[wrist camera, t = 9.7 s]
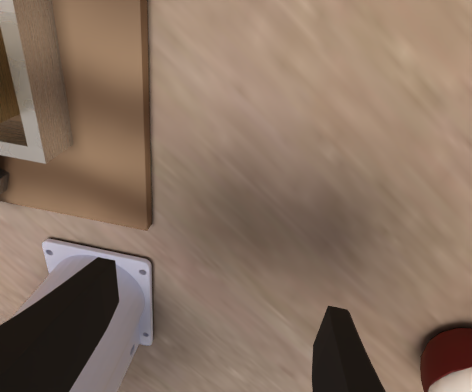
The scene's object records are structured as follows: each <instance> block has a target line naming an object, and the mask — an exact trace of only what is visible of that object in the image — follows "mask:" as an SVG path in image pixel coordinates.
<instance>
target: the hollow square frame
mask: <svg viewBox="0 0 472 392" xmlns="http://www.w3.org/2000/svg"><path fill="white" fill-rule="evenodd" d="M0 27H1V31H2V36H3V40H4V45H5V49H6V53H7V58H8V62H9V67H10V71H11V75H12V80H13V84H14V88H15V93H16V97H17V102H18V106H19V110H20V115H21V119H22V122H20V121H14V120H9V119H8V120H6V121H4V122H2V123H0V155H2V156H8V157H13V158H18V159H23V160H29V161H34V162H39V163H44V164H46V163H48V162H49V161H50V160H52V159H53V158H55V157H56V156H57V155H59V154H60V153H62V152H63V151H65V150H66V149H67V148H69V147H70V146H72V145H73V138H72V131H71V124H70V118H69V111H68V104H67V98H66V91H65V84H64V78H63V71H62V64H61V58H60V51H59V44H58V38H57V31H56V24H55V18H54V11H53V4H52V0H0Z"/></svg>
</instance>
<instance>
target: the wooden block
mask: <svg viewBox="0 0 472 392" xmlns="http://www.w3.org/2000/svg"><path fill="white" fill-rule="evenodd" d="M19 114H20V110H19V106H18V102H17V97H16V93H15V88H14V84H13V80H12V75H11V71H10V67H9V62H8V58H7V53H6V49H5V45H4V40H3V36H2V31H1V27H0V123H2V122H4V121H6V120H8V119H10V118H12V117H15V116H17V115H19Z"/></svg>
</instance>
